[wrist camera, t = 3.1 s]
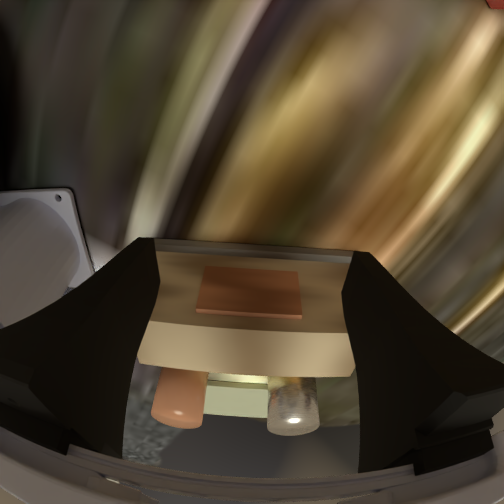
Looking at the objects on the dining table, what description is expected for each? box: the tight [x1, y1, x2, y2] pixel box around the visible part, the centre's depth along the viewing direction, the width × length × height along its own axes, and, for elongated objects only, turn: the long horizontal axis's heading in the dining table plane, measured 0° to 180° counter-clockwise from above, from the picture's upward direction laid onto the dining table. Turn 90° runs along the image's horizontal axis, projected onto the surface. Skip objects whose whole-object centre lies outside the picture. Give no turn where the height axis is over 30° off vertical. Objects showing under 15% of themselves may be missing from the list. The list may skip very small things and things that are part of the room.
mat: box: [203, 380, 268, 418], centre depth 30 cm, size 10×7×1 cm
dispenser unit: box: [137, 238, 355, 377], centre depth 18 cm, size 13×5×6 cm, turn 87°
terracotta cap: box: [151, 367, 209, 428], centre depth 23 cm, size 4×4×6 cm
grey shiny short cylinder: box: [267, 376, 319, 436], centre depth 24 cm, size 4×4×6 cm
